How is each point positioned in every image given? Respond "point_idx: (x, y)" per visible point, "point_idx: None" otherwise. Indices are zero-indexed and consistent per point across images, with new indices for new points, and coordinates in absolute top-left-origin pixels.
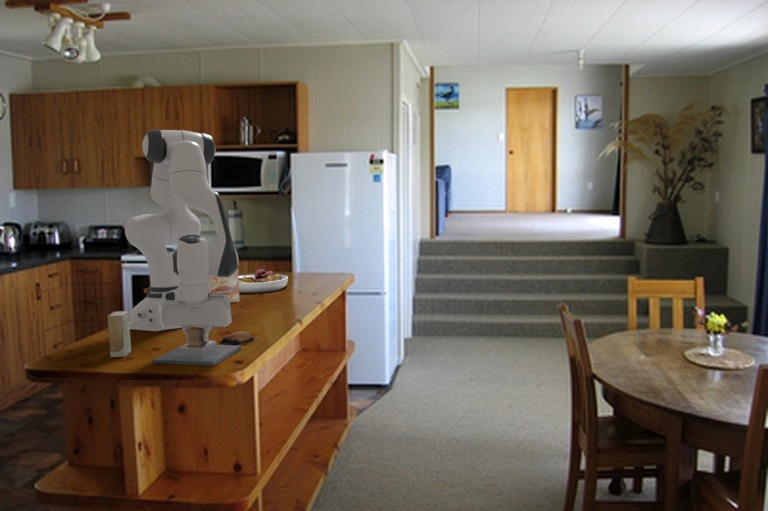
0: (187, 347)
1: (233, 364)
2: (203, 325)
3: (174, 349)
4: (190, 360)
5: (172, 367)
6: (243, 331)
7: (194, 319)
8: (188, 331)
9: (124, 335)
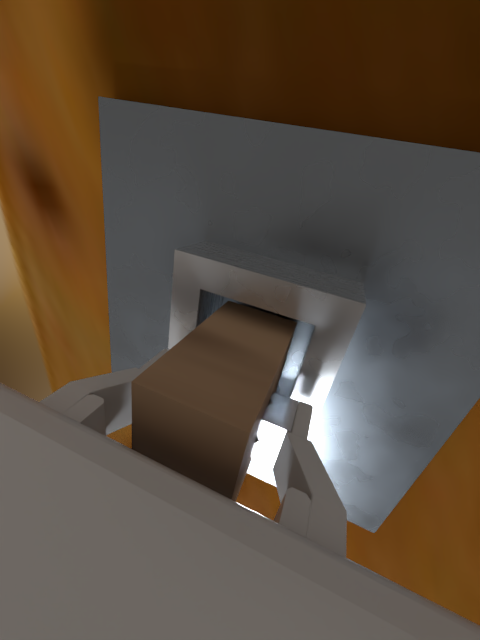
0: (288, 291)
1: (42, 140)
2: (44, 415)
3: (427, 457)
4: (253, 147)
5: (388, 34)
6: None
7: (68, 555)
8: (249, 414)
9: None
